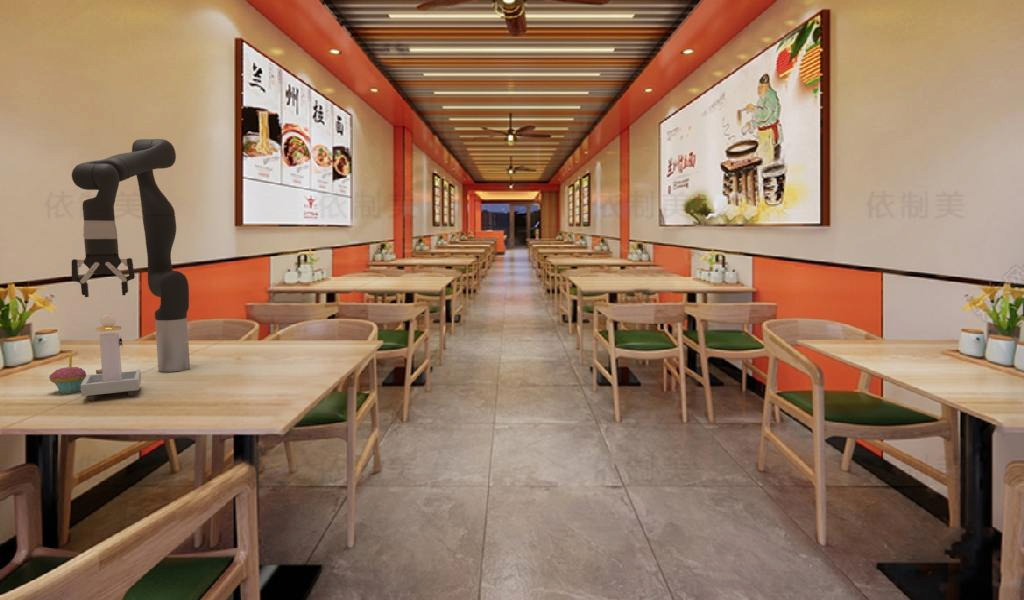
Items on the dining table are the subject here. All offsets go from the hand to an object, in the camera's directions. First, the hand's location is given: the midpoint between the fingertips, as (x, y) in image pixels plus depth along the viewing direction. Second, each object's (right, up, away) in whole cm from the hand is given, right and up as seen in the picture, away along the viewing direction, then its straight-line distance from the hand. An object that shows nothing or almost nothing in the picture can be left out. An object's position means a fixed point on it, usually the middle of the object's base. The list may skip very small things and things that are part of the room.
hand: (105, 296), depth 163 cm
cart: (0, -28, +3) cm, 28 cm away
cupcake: (-15, -28, +6) cm, 32 cm away
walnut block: (-11, -27, +16) cm, 33 cm away
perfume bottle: (0, -25, +2) cm, 25 cm away
